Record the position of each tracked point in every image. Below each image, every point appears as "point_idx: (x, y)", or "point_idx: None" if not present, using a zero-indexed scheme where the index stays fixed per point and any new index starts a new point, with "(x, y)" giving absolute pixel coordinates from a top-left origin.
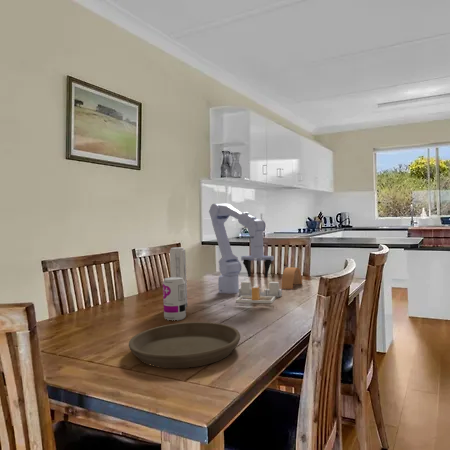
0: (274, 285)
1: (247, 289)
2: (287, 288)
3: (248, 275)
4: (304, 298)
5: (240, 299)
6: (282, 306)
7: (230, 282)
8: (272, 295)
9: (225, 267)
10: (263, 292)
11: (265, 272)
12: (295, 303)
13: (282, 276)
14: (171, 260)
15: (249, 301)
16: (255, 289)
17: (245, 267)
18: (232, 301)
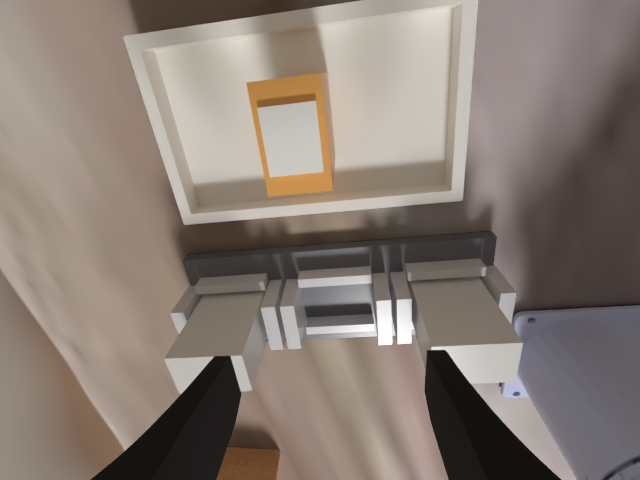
0: (202, 339)
1: (436, 303)
2: (245, 459)
3: (448, 360)
4: (63, 300)
5: (450, 115)
6: (43, 18)
7: (632, 388)
8: (237, 278)
9: None
10: (320, 327)
11: (194, 397)
12: (24, 153)
13: None
14: None
15: (332, 5)
16: (274, 80)
17: (551, 471)
18: (519, 106)
